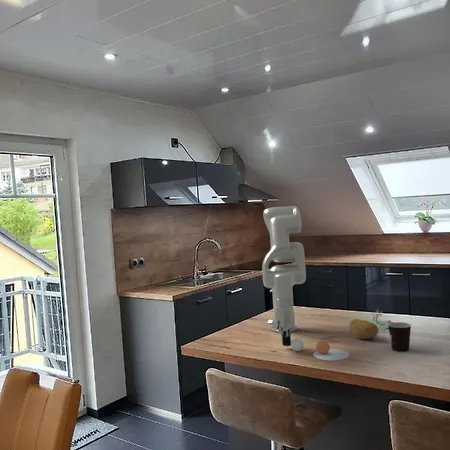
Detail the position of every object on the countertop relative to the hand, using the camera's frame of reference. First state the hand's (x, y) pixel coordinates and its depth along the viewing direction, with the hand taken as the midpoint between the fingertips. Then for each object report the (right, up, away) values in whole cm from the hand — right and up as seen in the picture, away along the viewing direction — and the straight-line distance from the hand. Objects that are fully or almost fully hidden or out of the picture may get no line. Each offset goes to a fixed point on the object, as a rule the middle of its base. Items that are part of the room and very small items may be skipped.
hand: (286, 345), depth 202 cm
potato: (+35, +1, +8) cm, 36 cm away
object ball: (+13, +2, -10) cm, 17 cm away
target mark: (+16, -1, -12) cm, 20 cm away
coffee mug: (+45, +1, -9) cm, 46 cm away
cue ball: (+4, +1, -4) cm, 6 cm away
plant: (+46, +2, +32) cm, 56 cm away
